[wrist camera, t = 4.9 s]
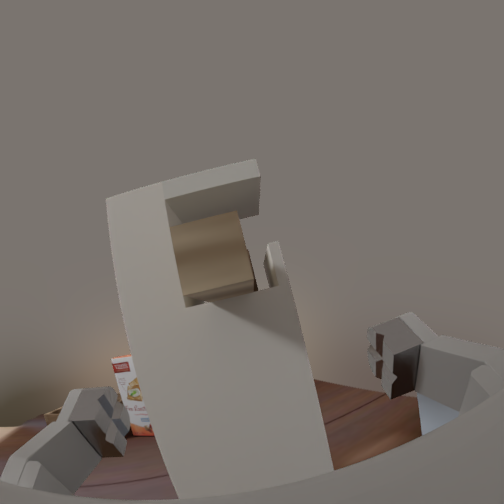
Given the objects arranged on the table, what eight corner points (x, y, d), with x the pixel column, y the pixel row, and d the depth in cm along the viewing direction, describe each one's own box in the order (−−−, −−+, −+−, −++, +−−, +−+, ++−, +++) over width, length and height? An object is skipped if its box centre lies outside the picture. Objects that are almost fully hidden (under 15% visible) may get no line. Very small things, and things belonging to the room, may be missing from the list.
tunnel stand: (350, 554, 17) (255, 158, 23) (219, 578, 16) (105, 198, 23) (330, 506, 26) (255, 201, 33) (226, 527, 26) (143, 229, 32)
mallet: (265, 275, 13) (243, 186, 14) (171, 298, 13) (155, 208, 14) (258, 297, 31) (248, 257, 31) (218, 306, 31) (209, 266, 31)
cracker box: (132, 436, 64) (109, 358, 68) (144, 429, 70) (123, 354, 74) (180, 437, 62) (155, 351, 66) (190, 427, 68) (168, 347, 71)
